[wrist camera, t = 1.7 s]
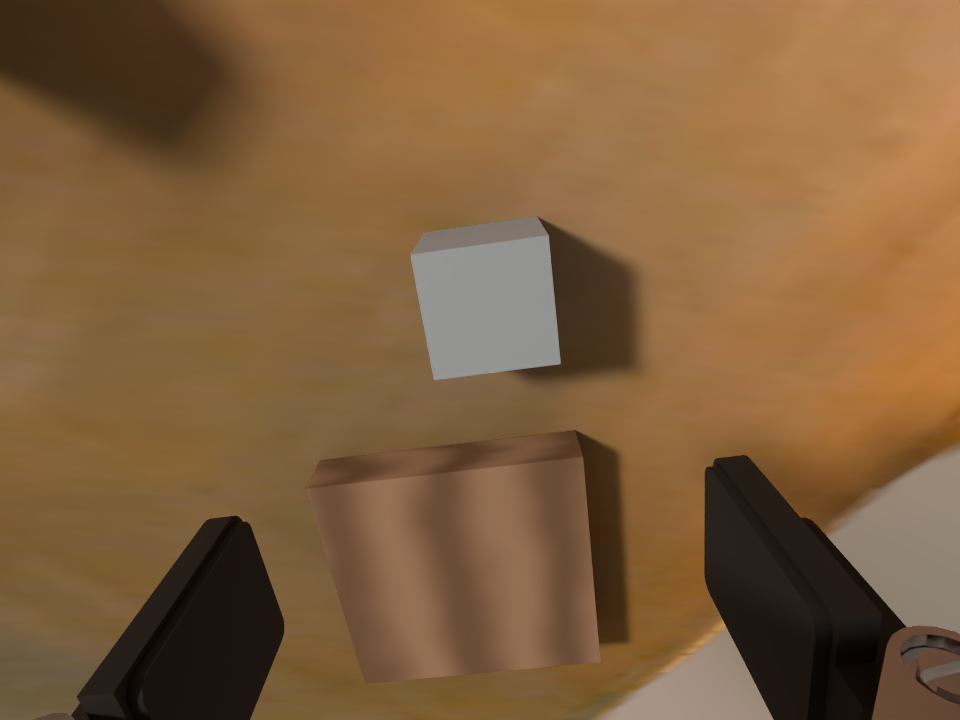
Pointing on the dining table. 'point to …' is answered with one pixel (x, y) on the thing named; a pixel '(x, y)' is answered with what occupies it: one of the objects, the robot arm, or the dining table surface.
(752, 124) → the dining table surface
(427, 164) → the dining table surface
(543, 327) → the light grey cube
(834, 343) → the dining table surface
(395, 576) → the walnut base
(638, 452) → the dining table surface
